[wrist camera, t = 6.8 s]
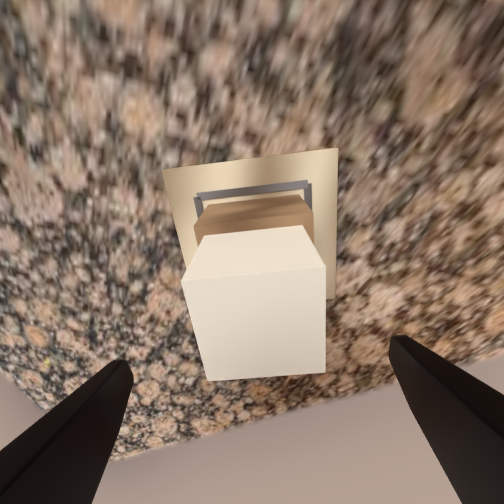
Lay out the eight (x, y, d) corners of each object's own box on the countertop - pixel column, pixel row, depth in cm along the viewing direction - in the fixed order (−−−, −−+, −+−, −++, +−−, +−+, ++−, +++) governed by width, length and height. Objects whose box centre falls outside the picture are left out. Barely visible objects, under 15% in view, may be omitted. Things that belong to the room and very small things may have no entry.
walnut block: (298, 193, 16) (313, 212, 12) (302, 274, 19) (315, 311, 15) (208, 204, 17) (193, 226, 13) (223, 281, 19) (214, 321, 15)
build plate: (336, 147, 16) (338, 147, 15) (333, 295, 20) (335, 299, 20) (163, 169, 16) (160, 170, 16) (198, 308, 21) (197, 312, 20)
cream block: (302, 225, 13) (325, 267, 9) (305, 306, 15) (325, 372, 11) (204, 235, 13) (180, 281, 9) (220, 314, 15) (207, 381, 11)
